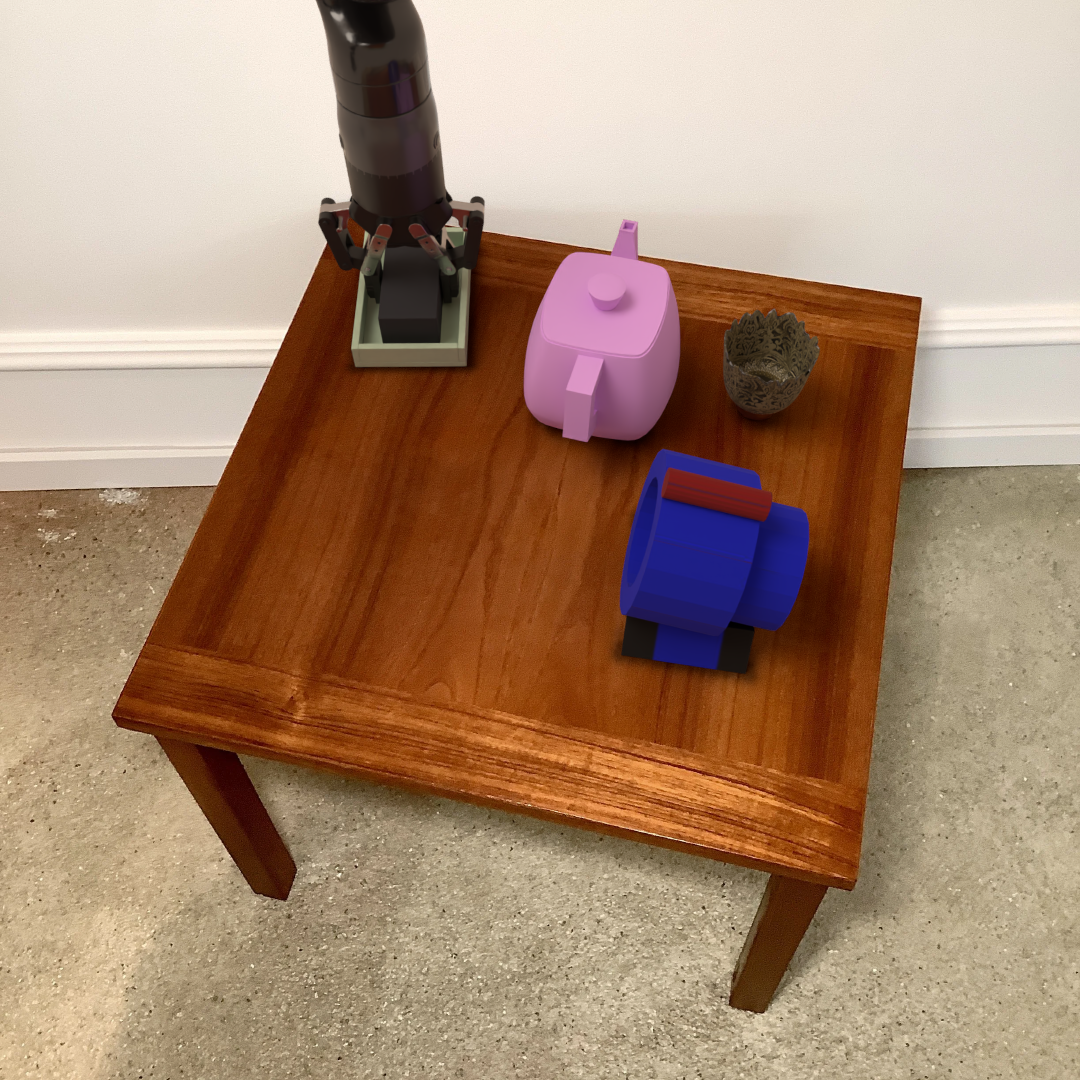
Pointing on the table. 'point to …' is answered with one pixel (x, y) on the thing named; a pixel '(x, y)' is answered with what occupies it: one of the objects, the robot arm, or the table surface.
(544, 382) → the teapot
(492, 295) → the table surface
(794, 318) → the cup
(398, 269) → the black rectangular block
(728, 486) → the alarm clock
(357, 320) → the pale green tray
